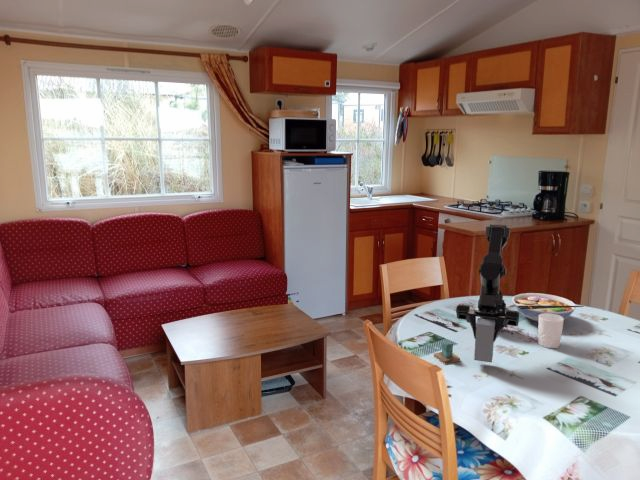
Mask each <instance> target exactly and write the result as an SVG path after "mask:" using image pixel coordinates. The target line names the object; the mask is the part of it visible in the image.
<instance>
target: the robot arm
mask: <svg viewBox="0 0 640 480" xmlns="http://www.w3.org/2000/svg"><path fill="white" fill-rule="evenodd" d="M510 235H511V228H510V227H508V225H505V224H489V226H485V237H487V238H486V240H487V243H488V250H487V254H486V255H485V256H483V260H482V263H480V266H479V268H478V275H479V276H480V284H481V286H480V293H479V297H478V303H477V309H473V308H471V305H470V304H469V305H468V304H458V305H456V310H455V312H456V319H458V320H462V321H463V320H464V321H466V323H469V325H470V326H471V330H472V334H473V338H474V340H475V338H476V323H477V318H482V319H490V320H495V333H494V339H493V342H494V343H495V342H496V340H497V338H498V337H499V334H500V333H501V332H503V329H504V328H507V327H508V326H510V327H519V322H520V312H519V311H518V310H511V309H507V304H506V301H505V299H504V294H502V291H501V289H500V286H501V285H500V284H501V283H500V280H501V279H502V277H504V276H506V274H507V268H506V266H505V264H504V263H503V262H504V259H503V257H502V255H503V248H505V246H506V245H507V244H508V239H510ZM503 264H504V265H503Z"/></svg>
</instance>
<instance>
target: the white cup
mask: <svg viewBox="0 0 640 480" xmlns="http://www.w3.org/2000/svg"><path fill="white" fill-rule="evenodd" d="M564 320H565V319H564V318H563V317H562V316H559V315H556V314H551V313H543V314H540V315H539V322H537V323H538V324H537V325H538V327H537V330H538V331H537V343H538V345H539V346H541V347H544V348H546V349H557V348H560V345H561V340H562V339H561V338H562V334H563V329H564Z"/></svg>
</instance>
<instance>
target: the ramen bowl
mask: <svg viewBox="0 0 640 480" xmlns="http://www.w3.org/2000/svg"><path fill="white" fill-rule="evenodd" d="M511 300H512V302H513V304H514V306H515V308H516V309H517V311H518V312H519V314H521V315H522V316H524V317H526V318H528V319H530V320H532V321H533V322H537V323H538V322H539V315H540V314H543V313H551V314H556V315H559V316H562V317H563V318H564V320H565V319H567V318H568V317H570V316H571V315H572V314H573V313H574V311H575V310H576V308H583V307H585V306H584V305H576V304H575V303H574V302H573V301H572V300H570V299H568V298H565V297H562V296H558V295H554V294H549V293H547V294H546V293H540V292H539V293H536V292H526V293H519V294H516V295H514V296H513V297H512V299H511Z"/></svg>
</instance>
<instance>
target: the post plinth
mask: <svg viewBox="0 0 640 480" xmlns="http://www.w3.org/2000/svg"><path fill="white" fill-rule="evenodd" d="M441 343H442V344H441V351H439V352H434V353H433V357H435V358H436V360H438V359H439V360H438V361H440V362H441V361H442V362H443V363H442V362H441V363H442V364H444V363H446V364H451V363H450V362H452V363H457V362H456V361H458V362H461V357H459V356H458V355H457V354H455V353H454V352H453V349H454V343H453V342H451V341H450V340H447V341H442V342H441Z"/></svg>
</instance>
